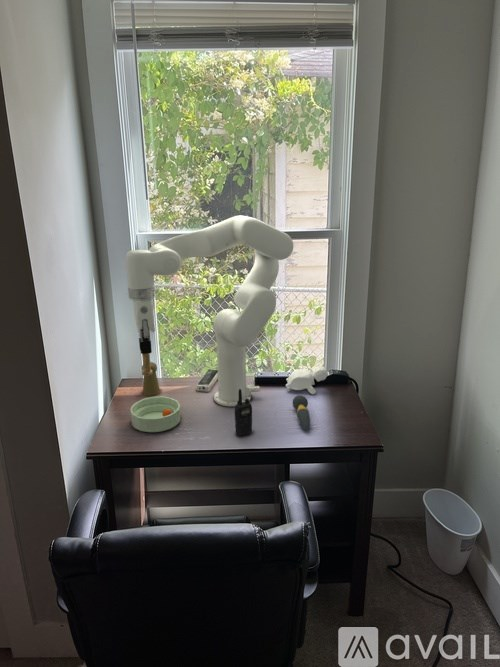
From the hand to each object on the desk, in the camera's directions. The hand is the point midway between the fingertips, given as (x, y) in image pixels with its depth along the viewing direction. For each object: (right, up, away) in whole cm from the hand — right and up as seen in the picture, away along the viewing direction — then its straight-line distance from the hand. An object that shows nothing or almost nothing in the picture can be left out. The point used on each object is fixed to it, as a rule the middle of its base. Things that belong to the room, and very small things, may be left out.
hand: (145, 351), depth 156 cm
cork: (-3, -16, +26) cm, 31 cm away
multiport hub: (+17, -13, +33) cm, 39 cm away
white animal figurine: (+52, -15, +27) cm, 60 cm away
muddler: (0, -7, +2) cm, 8 cm away
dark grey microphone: (+49, -22, +7) cm, 54 cm away
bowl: (+2, -22, +6) cm, 23 cm away
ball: (+6, -20, +6) cm, 22 cm away
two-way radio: (+30, -25, -1) cm, 39 cm away
